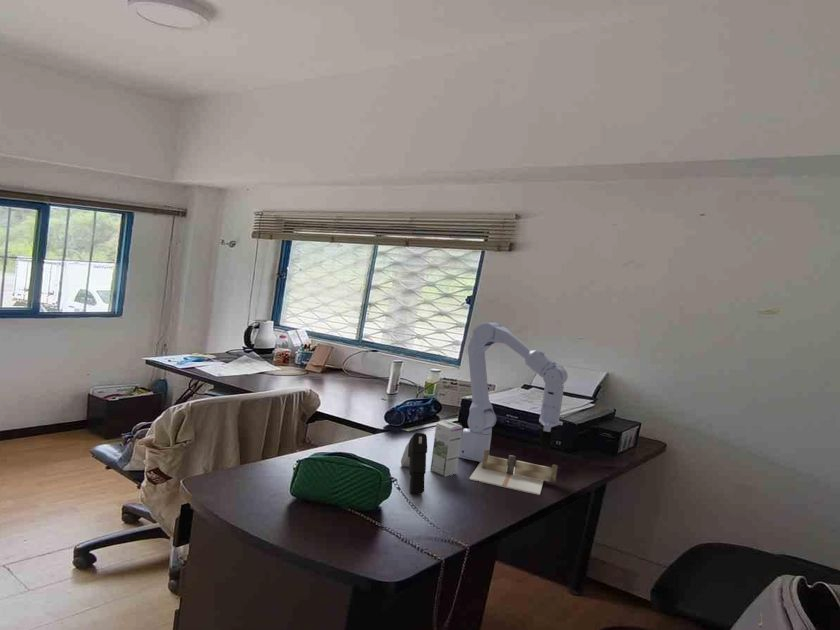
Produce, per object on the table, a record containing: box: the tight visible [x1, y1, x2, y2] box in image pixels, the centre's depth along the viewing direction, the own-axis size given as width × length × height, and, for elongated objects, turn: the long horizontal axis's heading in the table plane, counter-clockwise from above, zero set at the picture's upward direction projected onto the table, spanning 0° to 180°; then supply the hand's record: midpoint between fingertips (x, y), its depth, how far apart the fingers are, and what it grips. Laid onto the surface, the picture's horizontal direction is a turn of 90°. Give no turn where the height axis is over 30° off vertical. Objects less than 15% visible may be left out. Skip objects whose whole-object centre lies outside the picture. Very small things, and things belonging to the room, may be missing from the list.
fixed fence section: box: [482, 450, 517, 475], centre depth 174 cm, size 10×2×5 cm, turn 73°
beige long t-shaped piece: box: [514, 459, 558, 484], centre depth 171 cm, size 12×2×5 cm, turn 73°
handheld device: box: [400, 432, 428, 494], centre depth 158 cm, size 4×22×15 cm
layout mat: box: [469, 462, 544, 496], centre depth 172 cm, size 20×20×1 cm
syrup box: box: [430, 420, 463, 477], centre depth 167 cm, size 6×6×14 cm
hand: (545, 449), depth 175 cm, fingers open, 3 cm apart
